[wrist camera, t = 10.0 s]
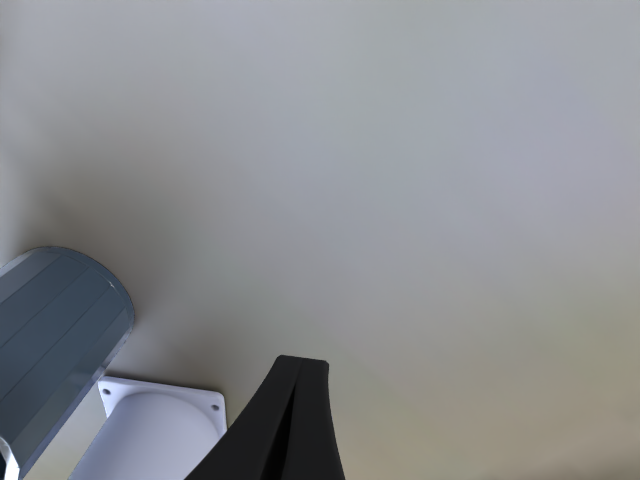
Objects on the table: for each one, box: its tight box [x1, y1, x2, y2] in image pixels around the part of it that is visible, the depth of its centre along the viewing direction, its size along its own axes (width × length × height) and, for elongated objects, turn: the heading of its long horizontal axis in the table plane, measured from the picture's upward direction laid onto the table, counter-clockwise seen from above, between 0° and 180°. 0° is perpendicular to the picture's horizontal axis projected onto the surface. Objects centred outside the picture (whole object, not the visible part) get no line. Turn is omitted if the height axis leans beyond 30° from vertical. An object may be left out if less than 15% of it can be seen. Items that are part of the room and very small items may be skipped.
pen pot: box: [0, 247, 134, 480], centre depth 21 cm, size 7×7×9 cm
